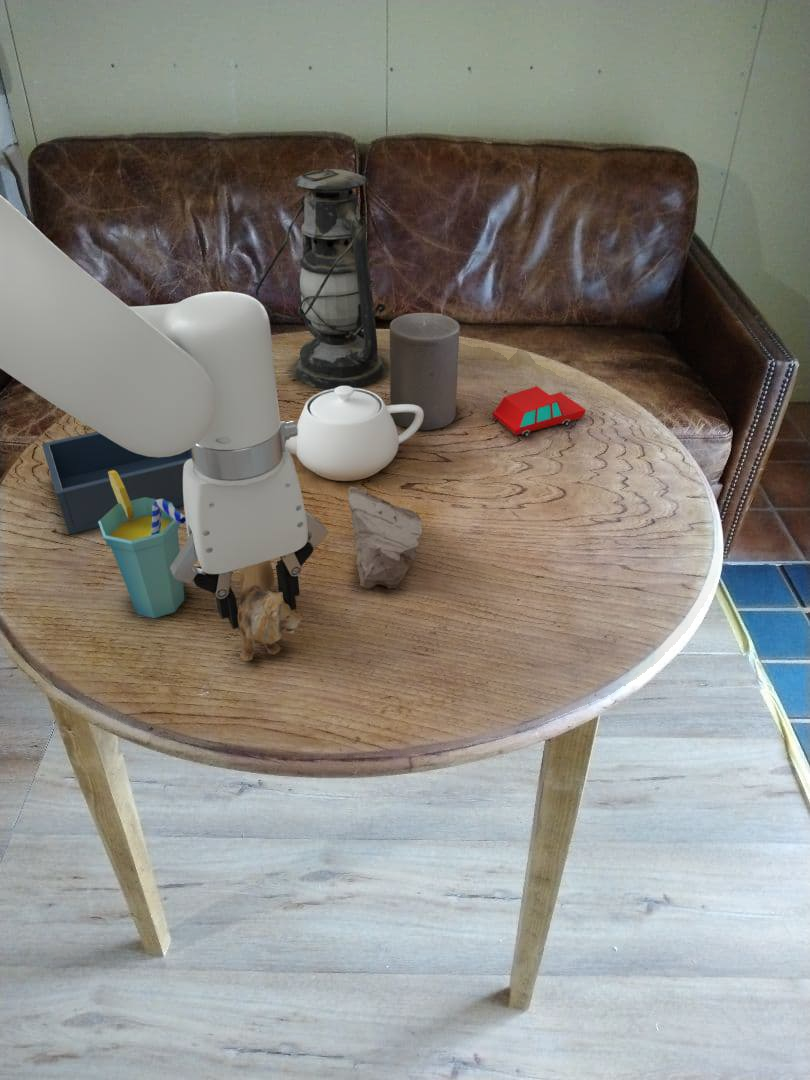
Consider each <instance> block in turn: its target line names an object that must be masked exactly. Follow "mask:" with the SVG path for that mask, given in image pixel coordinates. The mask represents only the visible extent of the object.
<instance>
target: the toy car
mask: <svg viewBox="0 0 810 1080" xmlns="http://www.w3.org/2000/svg"><path fill="white" fill-rule="evenodd" d="M586 411H587V410H586V408H584V407H583V406H581V405H580V404H578V403H577V402H576V401H574V400H572V399H571V398H570V397H568V396H567V395H566V394H564V393H562V392H556V393H552V394H549V393H548V392H546V391H544V390H543V389H542V388H541V387H540V386H538V385H534V386H533V387H529V388H527V389H524V390H520V391H517V392H514V393H512V394H509V395H506V396H503V398H502V399H501V400H500V403H498V405H497V407H496V408H495V409H494V410H492V411H491V415H492V417H493V418H494V419H495V420H496V421H498V422H499V423H500V424H501V425H503V426H504V427H505V428H507V429H508V431H510V432H511V433H513V434H514V435H515V436H519V435H523V436H524V437H528V436H529V434H530V433H531V432H533V431H537V430H541V429H544V428H545V429H546V428H549V427H553V426H557V425H560V424H562V425H564V426H565V427H568V426H569V424H570V422H572V421H575V420H580V419H582V418H584V416H585V415H586Z"/></svg>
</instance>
